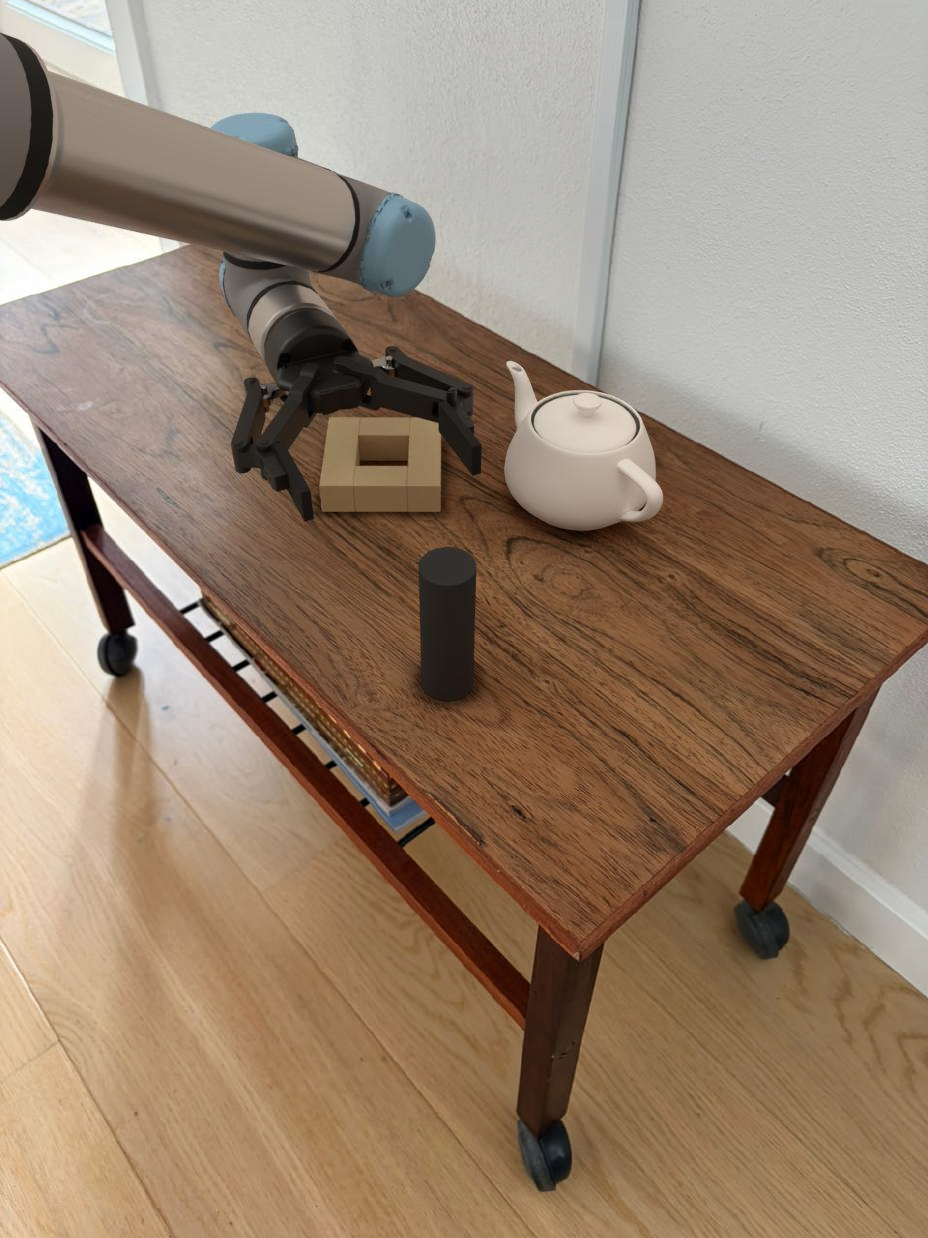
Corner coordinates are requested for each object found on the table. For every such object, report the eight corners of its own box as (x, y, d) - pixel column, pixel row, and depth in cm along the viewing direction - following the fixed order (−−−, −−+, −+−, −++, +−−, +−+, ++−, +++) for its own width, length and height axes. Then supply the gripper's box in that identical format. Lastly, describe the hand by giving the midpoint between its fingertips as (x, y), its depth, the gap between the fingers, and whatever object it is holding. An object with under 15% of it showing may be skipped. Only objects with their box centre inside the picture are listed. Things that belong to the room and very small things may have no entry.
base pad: (322, 511, 93) (319, 485, 91) (331, 442, 100) (329, 416, 98) (440, 512, 93) (440, 485, 91) (441, 442, 101) (441, 417, 99)
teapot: (707, 533, 91) (730, 432, 84) (586, 589, 86) (600, 487, 78) (559, 415, 104) (568, 319, 97) (446, 458, 99) (446, 359, 91)
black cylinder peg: (420, 701, 77) (417, 585, 69) (421, 662, 80) (418, 546, 71) (473, 701, 77) (477, 585, 69) (472, 662, 80) (475, 546, 71)
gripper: (434, 354, 96) (539, 480, 83) (171, 415, 89) (239, 565, 75) (433, 279, 91) (545, 401, 77) (153, 337, 83) (222, 484, 70)
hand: (394, 483), depth 76 cm, fingers open, 13 cm apart
